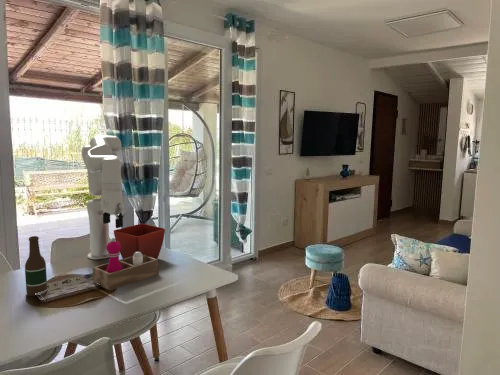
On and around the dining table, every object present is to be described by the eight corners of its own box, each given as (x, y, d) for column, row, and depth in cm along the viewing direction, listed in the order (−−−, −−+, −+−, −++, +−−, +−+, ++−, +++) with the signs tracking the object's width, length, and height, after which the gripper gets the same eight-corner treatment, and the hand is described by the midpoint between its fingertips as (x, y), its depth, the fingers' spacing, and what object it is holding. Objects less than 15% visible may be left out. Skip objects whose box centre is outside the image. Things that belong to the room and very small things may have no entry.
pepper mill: (107, 286, 161) (105, 241, 158) (105, 280, 167) (103, 236, 164) (124, 283, 164) (123, 239, 161) (122, 277, 170) (120, 235, 167)
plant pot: (137, 269, 184) (137, 236, 181) (113, 261, 194) (112, 230, 192) (166, 259, 199) (166, 228, 197) (142, 252, 210) (142, 223, 207)
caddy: (93, 284, 164) (92, 267, 163) (141, 269, 184) (141, 253, 183) (109, 292, 156) (109, 274, 155) (158, 275, 176) (157, 259, 175)
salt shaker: (131, 274, 174) (130, 251, 173) (139, 271, 178) (138, 249, 176) (137, 276, 172) (136, 253, 170) (144, 274, 175) (144, 251, 173)
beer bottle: (44, 287, 160) (41, 233, 157) (50, 293, 155) (47, 237, 152) (24, 292, 155) (20, 236, 152) (29, 298, 150) (25, 240, 146)
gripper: (92, 185, 162) (94, 223, 164) (115, 190, 151) (116, 230, 154) (108, 183, 168) (109, 220, 170) (131, 188, 157) (132, 227, 160)
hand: (112, 225), depth 162 cm, fingers open, 9 cm apart
